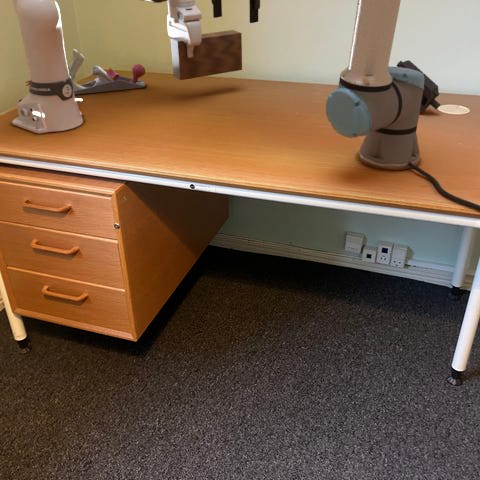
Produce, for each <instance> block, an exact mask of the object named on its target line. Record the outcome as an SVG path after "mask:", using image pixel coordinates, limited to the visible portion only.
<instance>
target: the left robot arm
mask: <svg viewBox="0 0 480 480" xmlns="http://www.w3.org/2000/svg"><path fill="white" fill-rule="evenodd" d="M139 1H142V2H148V3H154V4H161V3H164V2H167V3H166V4H167V13H168V14H167V17H166V29H167V34H168V35H167V36H168V37H170V38H177V39H180V40H182V41H183V42H184V43H186V46H187V51H186V56H187V57H189V58H190V57H193V49H194V46H196V45H200V44H201V41H202V34H203V32H202V31H203V30H202V21H201V20H202V19H203V16H202V15H203V14H202V11H201V10H200V9H199V8H198V7H197V4H196V0H139ZM12 5H13V10H14V11H15V14H16V16H17V19H18V23H19V28H20V32H21V33H20V34H21V38H22V44H23V49H24V54H25V59H26V63H27V67H28V72H29V76H30V77H29V78H30V80H27V81H25V86H26V87H28V86H29V88H28V93H26V95H25V96H24V97H23V98H22V99H18V102H19V103H18V104H17V113H18V116H17V117H15V118H14V119H13V120H12V121H11V124H12V125H13V126H16V127H18V128H21V129H24V130H26V131H29V132H32V133H35V134H40V135H41V134H46V133H52V132H53V133H54V132H64V131H68V130H72V129H75V128H77V127H79V126H81V125H82V124H83V123H84V118H83V114H82V112H81V111H80V108H79V105H78V101H79V102H82V101H83V98H76V94H74V92H73V84H72V83H73V82H72V79H71V76H69V71H68V67H69V65H68V60H67V55H66V50H65V40H64V32H63V25H62V24H63V23H62V17H61V11H60V7H59V4H58V2H57V0H12Z"/></svg>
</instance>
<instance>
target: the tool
mask: <svg viewBox="0 0 480 480" xmlns="http://www.w3.org/2000/svg"><path fill="white" fill-rule="evenodd" d="M396 67H402V68H408V69H413V70H416V71H419V72H421V73H422V74H423V75H424V78H425V79H424V90H423V95H422V101H421V107H420V113H419V114H421V113H423V112H424V111H425V110H427V109H428V108H429V107H430V106H431V107H432V108H433V109H435V110H437V109H439V107H441V105H442V104H441V103H440V102H438V101H437V99H436V98H437V97H439V96H440V92H439V86H438V84H437V83H436V82H434V81H433V79H431V78H430V77H429V76H428V75H427V74H426V73H424V72H423V71H422V69H420V68H419V67H418V66H417V65H416V64H414V62H412V61H411V60H409V59H408V60H404V61H402V60H400V61H398V62H397V64H396Z"/></svg>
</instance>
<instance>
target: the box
mask: <svg viewBox="0 0 480 480" xmlns="http://www.w3.org/2000/svg"><path fill="white" fill-rule="evenodd" d="M242 42H243V38H242V32H240V31H238V30H234V29H231V30H230V29H229V30H224V31H223V30H221V31H215V32H207V33H202V41H201V44H200V45H196V46H194V49H193V57H190V58H189V57H187V56H186V51H187V46H186V43H184V42H183V41H182V40H180V39H177V38H172V37H170V51H171V62H172V63H171V64H172V72H173V73H172V74H173V77H174V78H176V79H178V80H179V81H185V80H190V79H196V78H197V79H198V78H203V77H208V76H209V77H210V76H214V75H221V74H225V73H233V72H238V71H243V45H242V44H243V43H242Z"/></svg>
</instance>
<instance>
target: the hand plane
mask: <svg viewBox="0 0 480 480" xmlns="http://www.w3.org/2000/svg"><path fill="white" fill-rule="evenodd" d="M85 59H86V58H85V56H84V55H83V54H82V53H81V52H80V51H79V50H77V49H76V48H73V50H72V58H71V62H70V63H69V65H68V71H69V76H71V79H72V82H73V83H72V84H73V92H74V94H75V95H84V94H94V93H104V92H112V91H113V92H114V91H121V90H132V89H142V88H146V83H145V81H143V80H139V78H142V77H144V76H145V75H146V68H145V66H143V65H141V64H139V63H134V64H133V65H132V66H131V73H132V76H131V78H130V77H126V76H123V75H120V74H119V73H117V72H116V71H114V70H113V69H112V68H111V67H109V68H108V70H107V71H105V70H104V69H103V68H102V67H100V65H94V66H92V68H91V70H90V72H91V75H93V76H94V77H97V78H95V79H90V81H89V82H86V83H80V84H78V83H77V82H76V81H75V78H76V74H77V72H78V71H79V69H80V68H81V66H82V65H83V63H84V61H85Z"/></svg>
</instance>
